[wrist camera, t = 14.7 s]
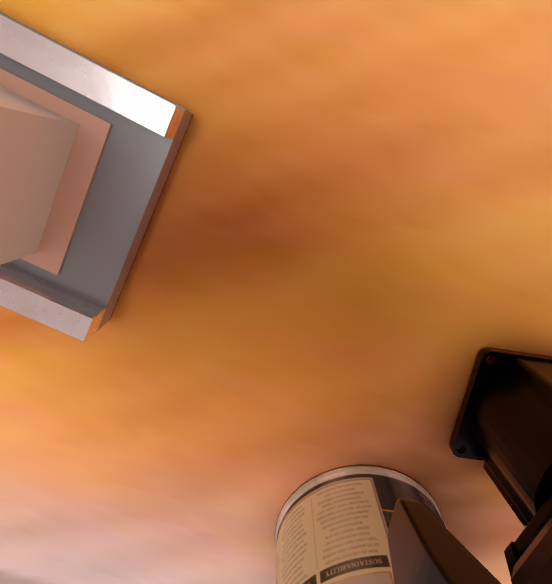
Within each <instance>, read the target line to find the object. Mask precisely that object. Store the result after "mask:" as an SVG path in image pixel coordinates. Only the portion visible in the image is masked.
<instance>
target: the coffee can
mask: <svg viewBox="0 0 552 584" xmlns="http://www.w3.org/2000/svg"><path fill="white" fill-rule="evenodd" d="M401 498H402V499H410V500H416V501H418V502H420V503H421V504H422V505H423V506H424V507H425V508H426V509H427V510H428V511H429V512H430V513H431V514H432V515H433V516H434V517H435V518H436V519H437V520H438V521H439V522H440V523H441V524H442V525H443V526H444V527H445V525H444V523H443V521H442V518H441V514H440V511H439V509H438V507H437V505H436V503H435V501H434V500H433V498H432V497H431V495H430V494H429V493H428V492H427V490H425V489H424V488H423V487H422V486H421V485H420V484H418V483H417V482H416V481H414V480H413V479H411V478H409V477H408V476H406V475H404V474H402V473H399V472H396V471H394V470H390V469H387V468H382V467H376V466H363V465H359V466H349V467H343V468H338V469H334V470H331V471H328V472H326V473H323V474H321V475H319V476H317V477H315V478H313V479H311V480H309V481H308V482H306V483H304V484H303V485H302V486H301V487H299V488H298V489H297V490H296V492H295V493H294V494H293V495H291V497H290V498H289V499H288V500H287V502H286V503H285V505H284V507H283V508H282V510H281V513H280V515H279V518H278V521H277V526H276V532H275V539H276V548H277V577H276V584H394V578H393V572H392V565H391V558H390V552H389V545H388V528H389V525H390V521H391V518H392V514H393V511H394V507H395V504H396V502H397V500H398V499H401ZM445 528H446V527H445Z"/></svg>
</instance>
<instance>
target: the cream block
mask: <svg viewBox="0 0 552 584" xmlns="http://www.w3.org/2000/svg"><path fill="white" fill-rule="evenodd" d="M78 126H79V124H77V123H75V122H73V121H71V120H69V119H67V118H65V117H63V116H61V115H59V114H57V113H55V112H53V111H51V110H49V109H47V108H45V107H43V106H41V105H39V104H37V103H35V102H33V101H31V100H29V99H27V98H25V97H23V96H21V95H19V94H17V93H15V92H13V91H11V90H9V89H7V88H5V87H3V86H1V85H0V265H2V264H5V263H7V262H10V261H13V260H16V259H19V258H22V257H25V256H28V255H31V254H34V253H37V250H38V247H39V244H40V241H41V238H42V235H43V232H44V229H45V226H46V223H47V220H48V217H49V214H50V211H51V208H52V205H53V202H54V199H55V196H56V193H57V190H58V187H59V184H60V181H61V178H62V175H63V172H64V169H65V166H66V162H67V159H68V156H69V153H70V150H71V147H72V144H73V141H74V138H75V135H76V132H77V129H78Z"/></svg>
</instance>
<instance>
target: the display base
mask: <svg viewBox="0 0 552 584" xmlns="http://www.w3.org/2000/svg"><path fill="white" fill-rule="evenodd" d="M0 85H1V86H3V87H5V88H7V89H9V90H11V91H13V92H15V93H17V94H19V95H21V96H23V97H25V98H27V99H29V100H31V101H33V102H35V103H37V104H39V105H41V106H43V107H45V108H47V109H49V110H51V111H53V112H55V113H57V114H59V115H61V116H63V117H65V118H67V119H69V120H71V121H73V122H75V123H77V124H79V126H78V129H77V132H76V135H75V138H74V141H73V144H72V147H71V150H70V153H69V156H68V159H67V162H66V166H65V169H64V172H63V175H62V178H61V181H60V184H59V187H58V190H57V193H56V196H55V199H54V202H53V205H52V208H51V211H50V214H49V217H48V220H47V223H46V226H45V229H44V232H43V235H42V238H41V241H40V244H39V247H38V250H37V253H34V254H31V255H28V256H25V257H22V258H19V259H16V260H13V261H10V262H7V263H5V264H2V265H0V306H3V307H5V308H7V309H10V310H12V311H14V312H16V313H19V314H21V315H23V316H26V317H28V318H30V319H33V320H35V321H37V322H39V323H42V324H44V325H46V326H49V327H51V328H53V329H56V330H58V331H60V332H63V333H65V334H67V335H69V336H72V337H74V338H76V339H79V340H81V341H83V342H84V341H85V340H86V339H87V338H88V337H89V336H91V335H92V334H93V333H94V332H95V331H98V330H99V329H100V328H101V327H102V326H103V325H104V324H105V323H107V322H108V321H109V320H110V317H111V315H112V313H113V310H114V308H115V305H116V303H117V300H118V298H119V295H120V293H121V290H122V288H123V285H124V283H125V280H126V278H127V275H128V273H129V271H130V268H131V266H132V263H133V261H134V258H135V256H136V253H137V251H138V248H139V246H140V243H141V241H142V238H143V236H144V233H145V231H146V229H147V226H148V224H149V221H150V219H151V216H152V214H153V211H154V209H155V206H156V204H157V201H158V199H159V196H160V194H161V191H162V189H163V187H164V184H165V182H166V179H167V177H168V174H169V172H170V169H171V167H172V164H173V162H174V159H175V157H176V154H177V152H178V149H179V147H180V145H181V142H182V140H183V137H184V135H185V132H186V130H187V127H188V125H189V122H190V120H191V117H192V115H193V114H192V113H191V112H189V111H187V110H186V109H184V108H182V107H180V106H178V105H176V104H175V103H173V102H171V101H169V100H167V99H165V98H163V97H161V96H159V95H157V94H155V93H154V92H152V91H150V90H148V89H146V88H144V87H142V86H140V85H138V84H136V83H134V82H133V81H131V80H129V79H127V78H125V77H123V76H121V75H119V74H117V73H115V72H113V71H112V70H110V69H108V68H106V67H104V66H102V65H100V64H98V63H96V62H94V61H92V60H91V59H89V58H87V57H85V56H83V55H81V54H79V53H77V52H75V51H73V50H71V49H70V48H68V47H66V46H64V45H62V44H60V43H58V42H56V41H54V40H52V39H50V38H49V37H47V36H45V35H43V34H41V33H39V32H37V31H35V30H33V29H31V28H29V27H28V26H26V25H24V24H22V23H20V22H18V21H16V20H14V19H12V18H10V17H8V16H7V15H5V14H3V13H1V12H0Z"/></svg>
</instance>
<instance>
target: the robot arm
mask: <svg viewBox="0 0 552 584" xmlns="http://www.w3.org/2000/svg"><path fill="white" fill-rule="evenodd" d="M489 356H492V359H491V360H489V361H486V359H487V358H488V357H489ZM460 446H463V447H462V448H460V449H458V447H460ZM450 449H451V451H452V452H453V454H454V455H455V456H457V457H461V458H468V459H476V460H483V461H484V462H485V463H484V466H483V467H484V469H485V470H486V472H487V473H488V475H489V476H490V478H491V479H492V481H493V482H494V484H495V485H496V486H497V488H498V489H499V491H500V492H501V494H502V495H503V497H504V498H505V500H506V501H507V502H508V504H509V505H510V507H511V508H512V510H513V511H514V513H515V514H516V516H517V517H518V518H519V520H520V521H521V523H522V524H523V526H524V527H525V529H524V530H523V532H522V533H521V534H520V536H519V537H518V538H517V540H516V541H515V542H511V543H510V544H509V545H508V547H507V548H506V549H505V551H504V553H505V557H506V561H507V564H508V568H509V572H510V576H511V582H512V584H552V357H549V356H542V355H535V354H528V353H521V352H514V351H507V350H500V349H493V348H486V349H483V350H482V351H481V352H480V353H479V355H478V357H477V361H476V364H475V367H474V370H473V373H472V376H471V379H470V383H469V386H468V389H467V392H466V395H465V398H464V401H463V405H462V408H461V411H460V414H459V417H458V420H457V423H456V427H455V430H454V433H453V436H452V439H451V442H450ZM388 545H389V552H390V558H391V565H392V572H393V578H394V584H501V583H500V582H499V581H498V580H497V579H496V578H495V577H494V576H493V575H492V574H491V573H490V572H489V571H488V570H487V569H486V568H485V567H484V566H483V565H482V564H481V563H480V562H479V561H478V560H477V559H476V558H475V557H474V556H473V555H472V554H471V553H470V552H469V551H468V550H467V549H466V548H465V547H464V546H463V545H462V544H461V543H460V542H459V541H458V540H457V539H456V538H455V537H454V536H453V535H452V534H451V533H450V532H449V531H448V530H447V529H446V528H445V527H444V526H443V525H442V524H441V523H440V522H439V521H438V520H437V519H436V518H435V517H434V516H433V515H432V514H431V513H430V512H429V511H428V510H427V509H426V508H425V507H424V506H423V505H422V504H421V503H420V502H418V501H416V500H410V499H402V498H401V499H398V500H397V502H396V504H395V507H394V511H393V514H392V518H391V521H390V525H389V528H388Z"/></svg>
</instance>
